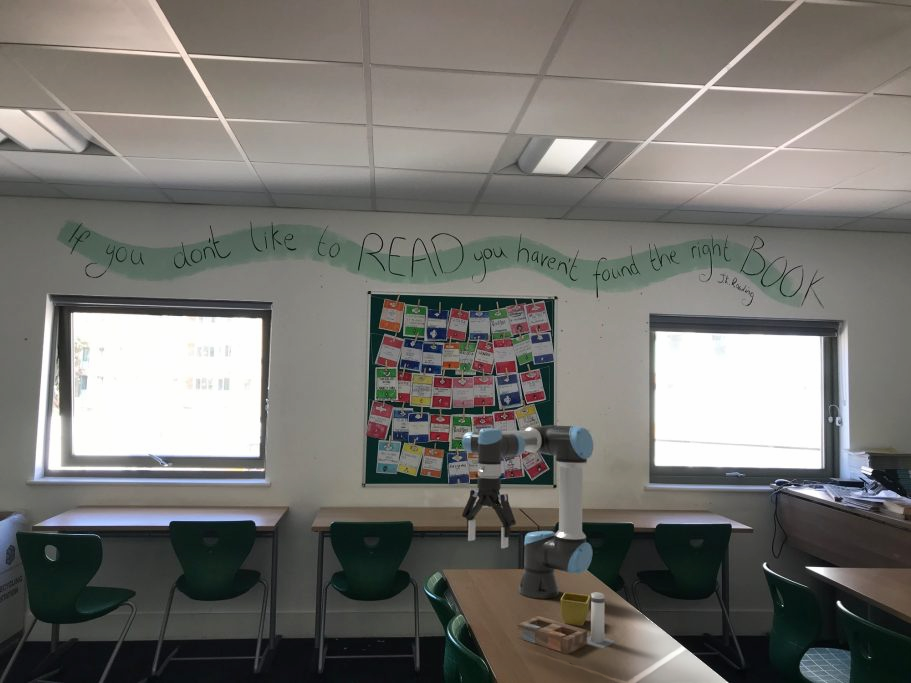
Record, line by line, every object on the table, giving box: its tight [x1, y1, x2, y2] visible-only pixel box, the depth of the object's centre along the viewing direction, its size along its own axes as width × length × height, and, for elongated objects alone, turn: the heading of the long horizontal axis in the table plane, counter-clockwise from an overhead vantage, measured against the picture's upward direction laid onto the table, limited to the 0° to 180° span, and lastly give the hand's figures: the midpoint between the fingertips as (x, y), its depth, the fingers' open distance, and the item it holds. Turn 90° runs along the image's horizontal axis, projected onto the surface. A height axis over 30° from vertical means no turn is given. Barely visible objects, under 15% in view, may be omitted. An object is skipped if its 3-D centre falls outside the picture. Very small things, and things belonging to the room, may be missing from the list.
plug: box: [590, 591, 606, 644], centre depth 201 cm, size 4×4×14 cm
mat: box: [587, 634, 616, 649], centre depth 200 cm, size 8×8×1 cm
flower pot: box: [560, 592, 591, 627], centre depth 218 cm, size 9×9×9 cm
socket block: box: [517, 615, 588, 655], centre depth 200 cm, size 11×18×5 cm, turn 48°
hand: (487, 544), depth 209 cm, fingers open, 13 cm apart
